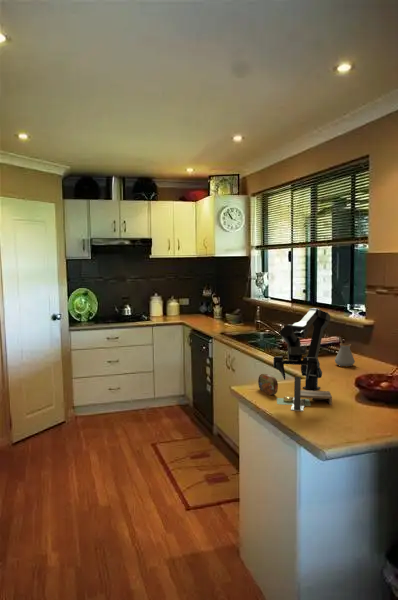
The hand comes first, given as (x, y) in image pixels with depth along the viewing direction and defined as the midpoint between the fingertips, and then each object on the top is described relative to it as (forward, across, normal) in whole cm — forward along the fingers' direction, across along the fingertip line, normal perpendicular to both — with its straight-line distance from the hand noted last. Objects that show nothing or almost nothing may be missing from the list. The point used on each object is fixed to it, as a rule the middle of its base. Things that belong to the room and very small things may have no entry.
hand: (295, 379), depth 197 cm
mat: (+3, 0, +14) cm, 14 cm away
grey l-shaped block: (+7, +2, +10) cm, 12 cm away
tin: (-6, -11, +23) cm, 27 cm away
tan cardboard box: (+3, +8, +14) cm, 17 cm away
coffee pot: (-52, +35, +71) cm, 95 cm away
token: (+3, -2, +14) cm, 15 cm away
